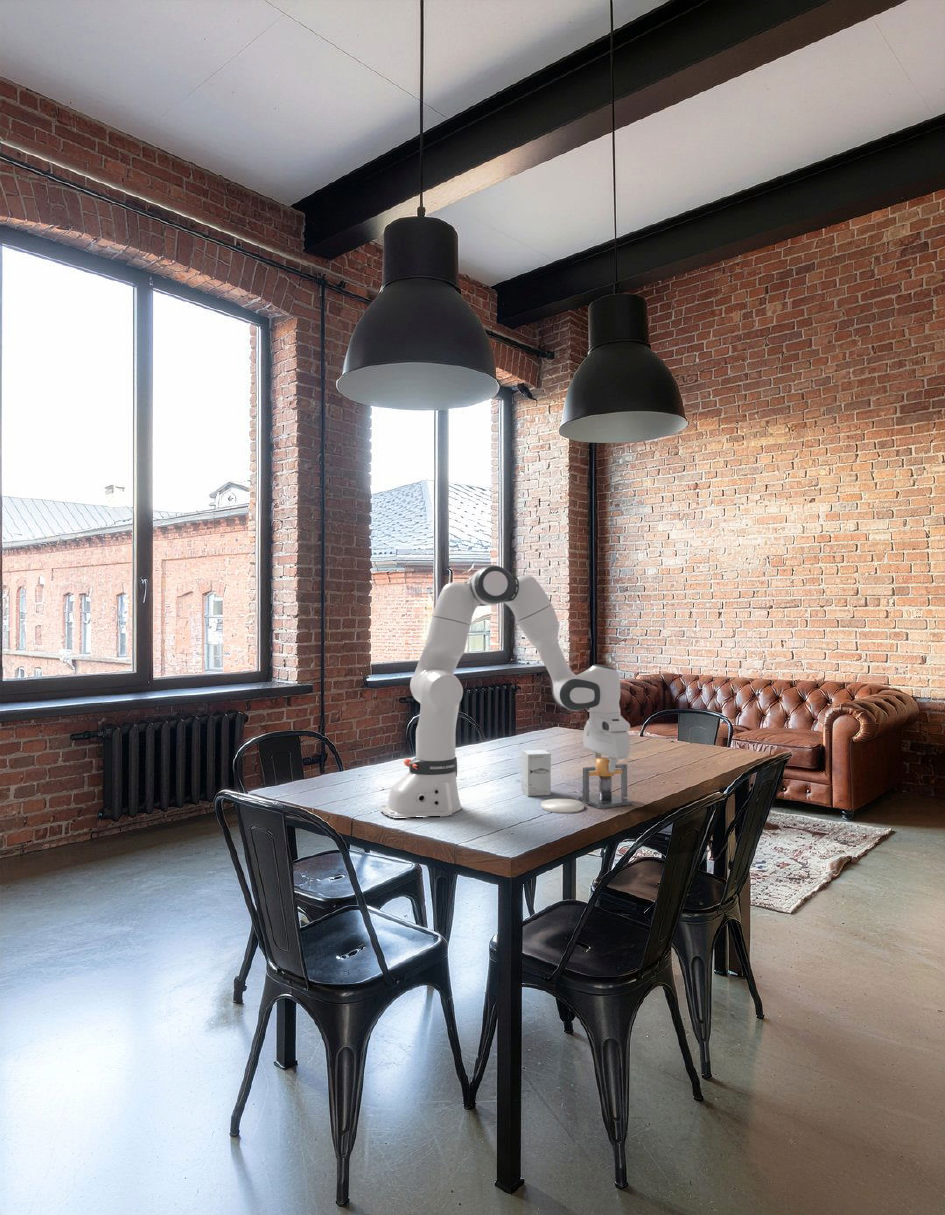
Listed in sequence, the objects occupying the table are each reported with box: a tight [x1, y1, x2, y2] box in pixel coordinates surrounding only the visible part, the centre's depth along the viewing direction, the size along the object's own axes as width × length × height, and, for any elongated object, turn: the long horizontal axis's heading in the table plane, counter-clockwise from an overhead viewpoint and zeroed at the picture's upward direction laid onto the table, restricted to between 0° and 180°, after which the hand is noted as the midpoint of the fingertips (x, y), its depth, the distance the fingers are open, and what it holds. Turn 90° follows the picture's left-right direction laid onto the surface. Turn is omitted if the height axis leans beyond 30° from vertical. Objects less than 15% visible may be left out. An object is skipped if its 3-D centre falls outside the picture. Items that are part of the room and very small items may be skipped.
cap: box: [589, 757, 622, 777], centre depth 225 cm, size 10×5×4 cm, turn 111°
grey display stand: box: [578, 763, 634, 809], centre depth 225 cm, size 14×11×10 cm
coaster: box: [540, 798, 585, 814], centre depth 219 cm, size 12×12×1 cm
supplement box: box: [521, 749, 552, 797], centre depth 236 cm, size 7×7×13 cm
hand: (605, 769), depth 225 cm, fingers closed on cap, 5 cm apart
